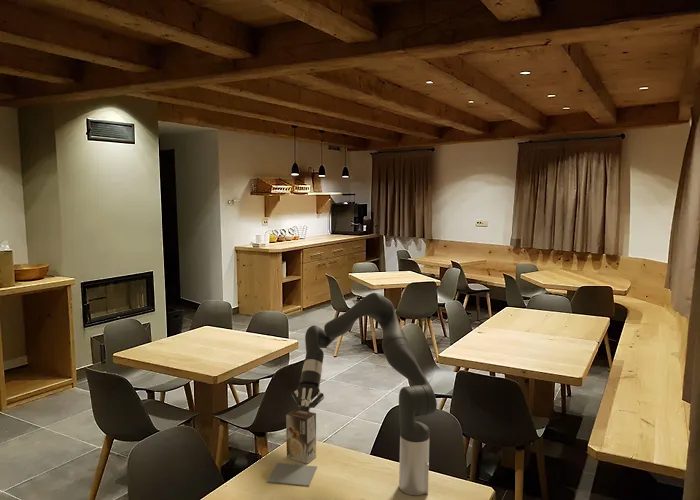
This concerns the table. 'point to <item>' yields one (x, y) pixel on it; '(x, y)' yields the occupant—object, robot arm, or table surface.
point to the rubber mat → (292, 474)
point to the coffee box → (301, 435)
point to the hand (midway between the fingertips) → (303, 417)
